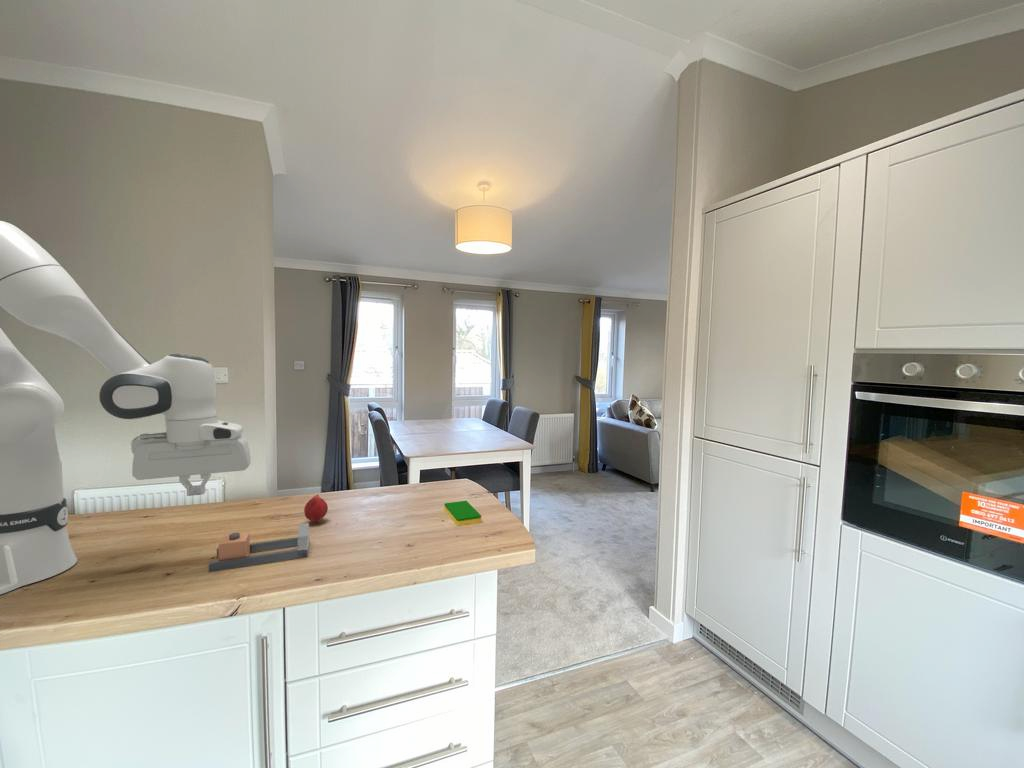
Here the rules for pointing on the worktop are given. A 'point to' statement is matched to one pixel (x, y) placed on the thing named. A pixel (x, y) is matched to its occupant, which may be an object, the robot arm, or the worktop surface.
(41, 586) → the worktop surface
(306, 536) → the rail
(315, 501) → the onion
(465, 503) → the dish sponge
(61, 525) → the robot arm
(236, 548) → the block
